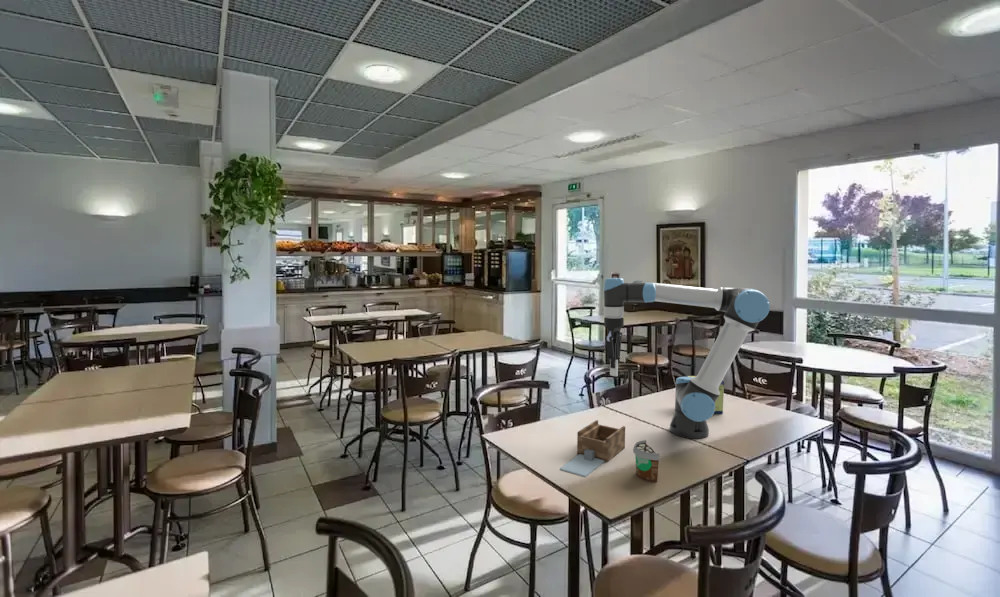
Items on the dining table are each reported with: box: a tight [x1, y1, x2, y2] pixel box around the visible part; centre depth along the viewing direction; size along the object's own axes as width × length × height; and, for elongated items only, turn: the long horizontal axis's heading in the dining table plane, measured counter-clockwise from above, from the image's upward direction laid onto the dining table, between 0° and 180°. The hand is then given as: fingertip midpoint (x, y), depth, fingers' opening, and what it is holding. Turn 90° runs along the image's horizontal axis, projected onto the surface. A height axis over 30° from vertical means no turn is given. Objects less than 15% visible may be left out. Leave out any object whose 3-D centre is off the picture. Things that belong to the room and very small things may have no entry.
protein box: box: [683, 375, 725, 415], centre depth 232 cm, size 10×16×16 cm
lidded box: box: [576, 419, 626, 463], centre depth 184 cm, size 16×12×8 cm
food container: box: [632, 439, 661, 483], centre depth 164 cm, size 12×6×10 cm, turn 5°
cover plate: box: [559, 449, 605, 478], centre depth 172 cm, size 15×10×4 cm, turn 144°
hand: (613, 375), depth 196 cm, fingers closed
